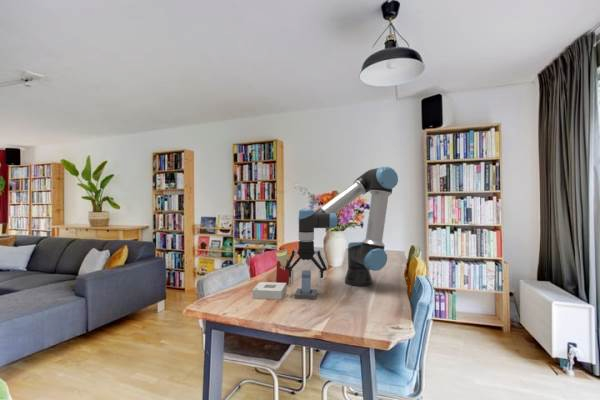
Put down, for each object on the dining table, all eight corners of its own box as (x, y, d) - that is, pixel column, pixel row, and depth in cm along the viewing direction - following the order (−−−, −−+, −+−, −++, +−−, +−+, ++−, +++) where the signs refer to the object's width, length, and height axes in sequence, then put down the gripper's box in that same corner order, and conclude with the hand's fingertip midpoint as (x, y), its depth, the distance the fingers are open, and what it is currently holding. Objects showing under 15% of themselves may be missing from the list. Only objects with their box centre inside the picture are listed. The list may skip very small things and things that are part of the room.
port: (286, 290, 152) (286, 282, 152) (281, 299, 138) (281, 290, 138) (260, 289, 153) (260, 281, 153) (252, 298, 139) (252, 289, 139)
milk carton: (292, 282, 168) (292, 247, 168) (290, 286, 159) (290, 249, 159) (276, 281, 169) (276, 246, 169) (273, 286, 160) (273, 249, 160)
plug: (310, 294, 145) (310, 270, 145) (310, 297, 141) (310, 272, 141) (302, 294, 146) (302, 270, 146) (301, 297, 141) (301, 272, 142)
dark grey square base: (317, 293, 148) (317, 289, 148) (315, 299, 138) (315, 295, 138) (297, 292, 149) (297, 288, 149) (294, 298, 139) (294, 294, 139)
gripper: (332, 240, 146) (331, 283, 145) (282, 239, 149) (282, 281, 149) (331, 242, 138) (331, 287, 138) (279, 241, 141) (279, 285, 141)
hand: (305, 284), depth 143 cm, fingers open, 13 cm apart
